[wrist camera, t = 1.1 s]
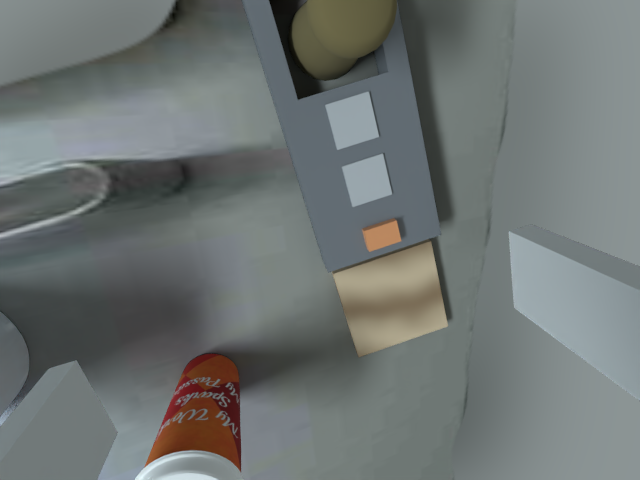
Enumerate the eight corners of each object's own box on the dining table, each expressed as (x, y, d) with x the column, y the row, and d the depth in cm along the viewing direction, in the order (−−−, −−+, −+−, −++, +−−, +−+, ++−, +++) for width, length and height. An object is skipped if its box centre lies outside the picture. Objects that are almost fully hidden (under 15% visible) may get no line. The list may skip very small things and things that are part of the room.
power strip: (202, -126, 26) (194, -159, 23) (351, -166, 27) (364, -204, 23) (323, 262, 36) (329, 276, 33) (429, 227, 37) (445, 237, 34)
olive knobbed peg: (272, 48, 30) (280, 10, 20) (316, -21, 29) (348, -99, 19) (332, 96, 32) (368, 84, 21) (375, 32, 31) (435, -12, 20)
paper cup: (252, 345, 38) (249, 466, 25) (246, 407, 40) (239, 549, 27) (171, 342, 36) (120, 469, 23) (169, 407, 39) (122, 557, 25)
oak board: (331, 270, 37) (333, 274, 36) (426, 237, 37) (430, 241, 36) (356, 351, 40) (358, 357, 39) (443, 321, 40) (447, 326, 40)
